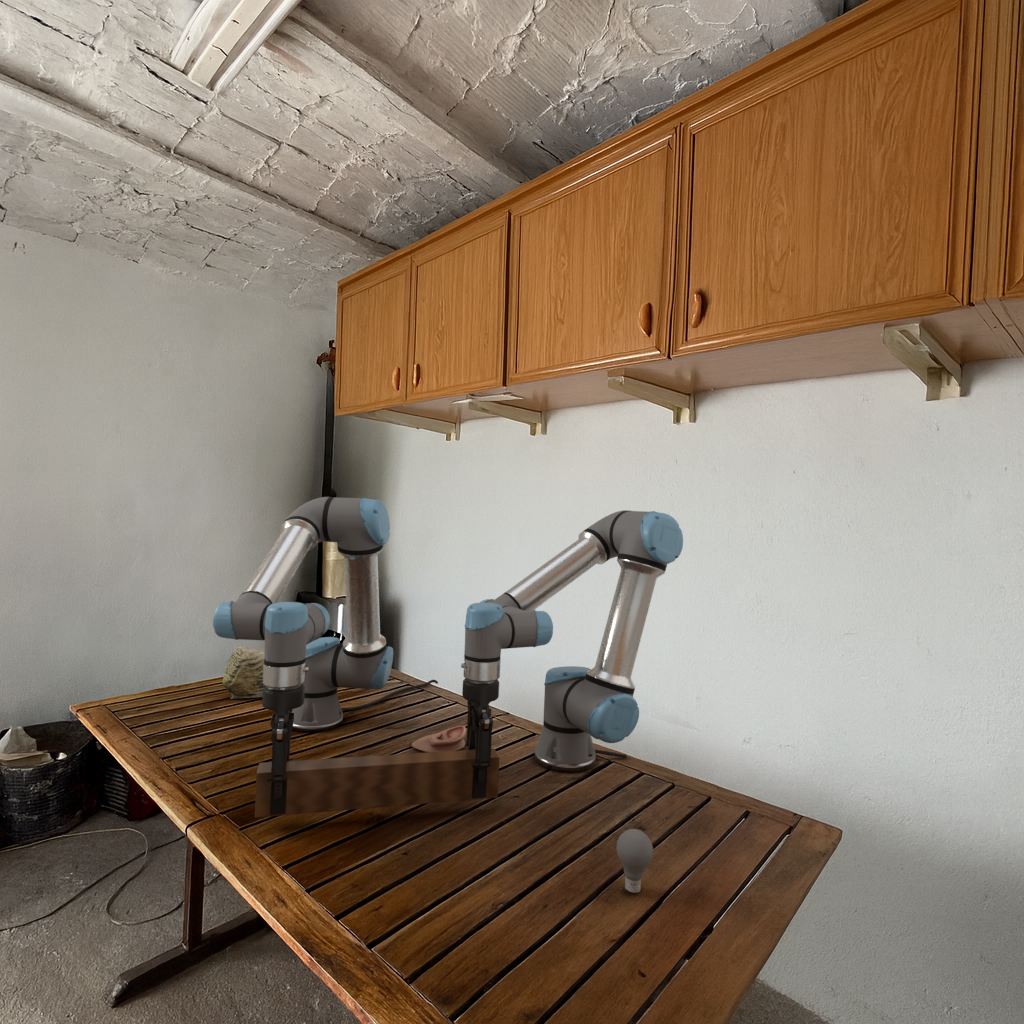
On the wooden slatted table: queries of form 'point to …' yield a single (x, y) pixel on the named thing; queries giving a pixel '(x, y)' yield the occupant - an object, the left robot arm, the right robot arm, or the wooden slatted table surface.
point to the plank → (375, 781)
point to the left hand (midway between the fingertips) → (279, 806)
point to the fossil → (245, 673)
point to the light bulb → (634, 857)
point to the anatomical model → (442, 740)
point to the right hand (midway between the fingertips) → (476, 790)
